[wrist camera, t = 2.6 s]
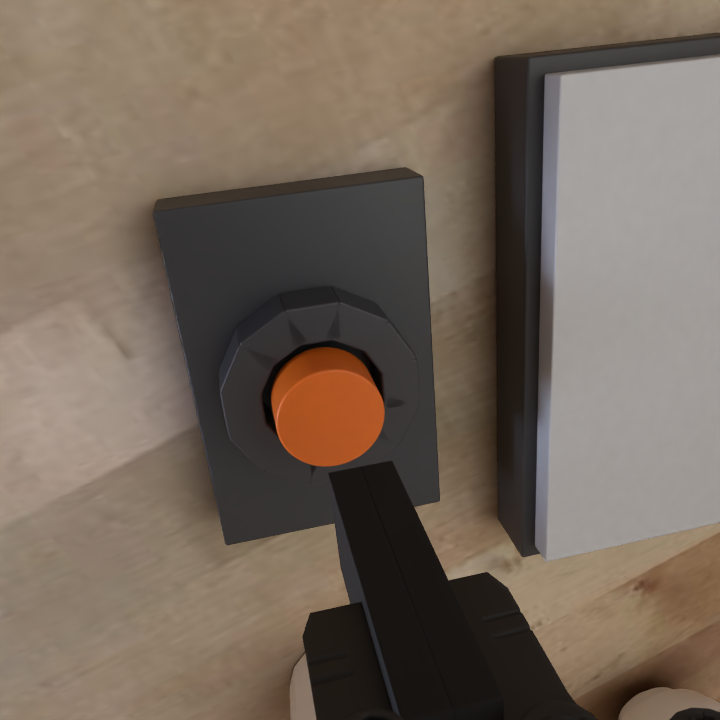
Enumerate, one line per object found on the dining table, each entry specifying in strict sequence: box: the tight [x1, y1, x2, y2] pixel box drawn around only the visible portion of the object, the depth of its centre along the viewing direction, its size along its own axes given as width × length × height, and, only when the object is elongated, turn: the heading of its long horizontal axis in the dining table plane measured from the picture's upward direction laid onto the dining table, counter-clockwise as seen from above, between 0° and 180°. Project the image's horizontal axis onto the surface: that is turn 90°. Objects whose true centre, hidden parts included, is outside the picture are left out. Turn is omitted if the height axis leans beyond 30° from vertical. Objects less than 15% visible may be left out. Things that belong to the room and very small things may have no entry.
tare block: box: [153, 167, 440, 545], centre depth 23 cm, size 12×8×4 cm, turn 5°
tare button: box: [271, 347, 385, 467], centre depth 20 cm, size 3×3×2 cm
